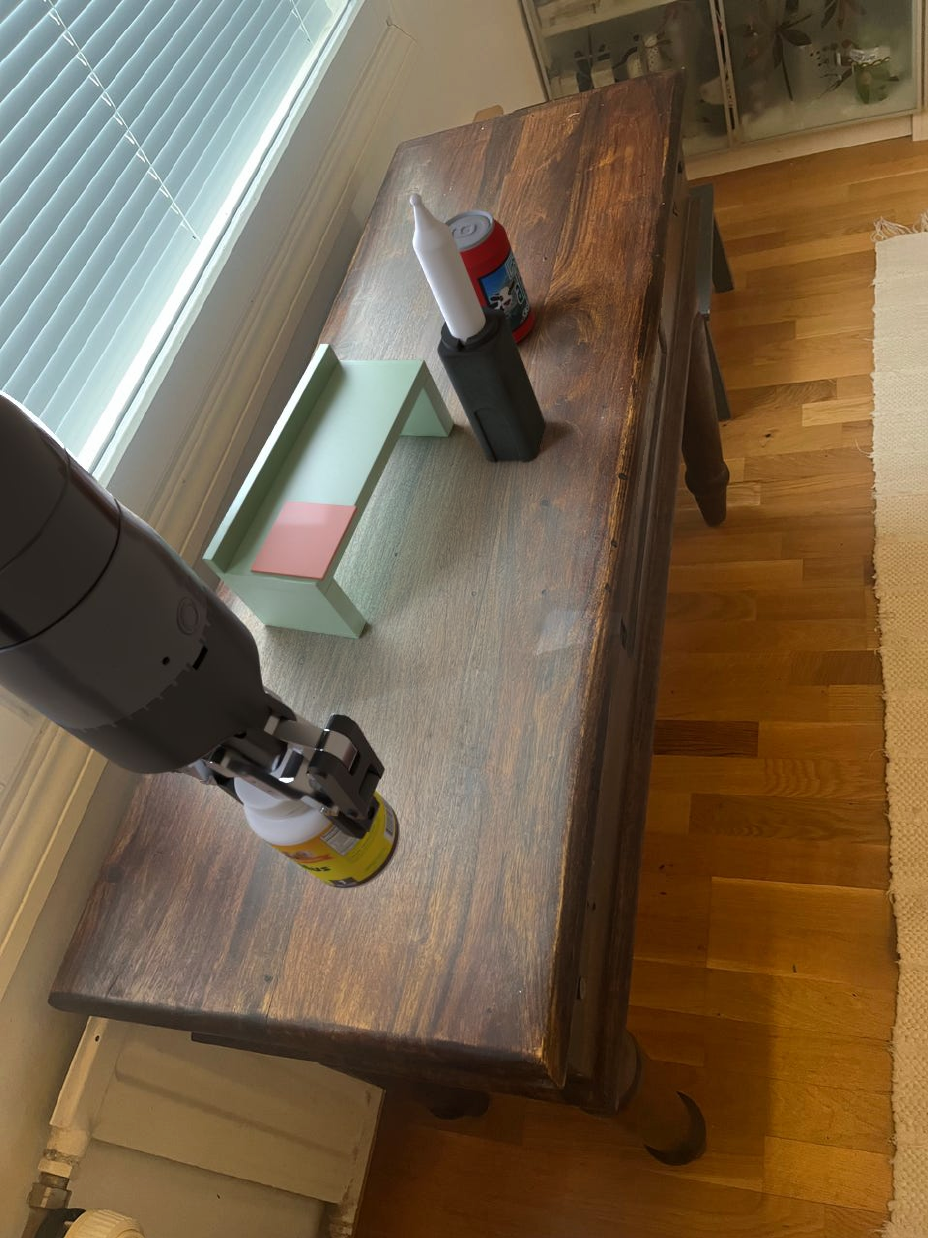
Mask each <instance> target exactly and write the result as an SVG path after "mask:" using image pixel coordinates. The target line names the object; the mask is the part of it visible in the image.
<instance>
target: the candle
mask: <svg viewBox="0 0 928 1238" xmlns="http://www.w3.org/2000/svg"><path fill="white" fill-rule="evenodd" d="M409 203H410V204H411V205H412V206H413V215H414V226H415V229H414V234H413V238H412V247H413V250H414V252H415V254H416V256H417V259H418V261H419V263H420V266H421V268H422V270H423V272H424V275H425V278H426V279H427V282H428V284H429V286H430V288H431V291H432V293H433V296H434V298H435V300H436V302H437V304H438V307H439V309H440V311H441V314H442V316H443V318H444V320H445V321H444V322H443V324H442V326H441V329H440V340H439V342H438V345H437V349H436V351H437V352H436V353H437V355H438V357H439V360H440V362H441V363H442V365H443V369H444V371H445V372H446V374H447V376H448V379H449V381H450V383H451V385H452V388H453V389H454V392H455V394H456V396H457V398H458V400H459V402H460V405H461V407H462V409H463V411H464V413H465V416H466V418H467V420H468V422H469V425H470V427H471V428H472V430H473V432H474V435H475V437H476V439H477V441H478V444H479V446H480V448H481V449H482V452H483V455H484V456H485V459H486V460H487V461H488V462H489V463H492V464H497V463H498V462H522V463H528V462H531V461H533V460H534V459H535V458H537V456H538V455H539V453H540V450H541V448H542V444H543V440H544V438H545V437H544V436H545V433H546V429H547V424H546V420H545V418H544V415H543V412H542V410H541V408H540V404H539V402H538V399H537V397H536V394H535V391H534V388H533V386H532V385H533V384H532V383H531V380H530V378H529V375H528V372H527V369H526V367H525V364H524V361H523V358H522V356H521V353H520V350H519V348H518V345H517V343H516V342H515V339H514V337H513V334H512V331H511V329H510V326H509V323H508V321H507V318H506V315H505V313H504V312H503V311H502V310H500V309H491V308H489V307H487V306H483V305H480V303H479V301H478V298H477V296H476V293H475V291H474V288H473V286H472V283H471V281H470V278H469V275H468V273H467V270H466V268H465V265H464V263H463V260H462V258H461V255H460V253H459V250H458V247H457V245H456V242H455V240H454V237H453V235H452V232H451V230H450V228H449V227H448V226H447V225H446V224H444V223H445V222H443V221H441V220H439V219H437V218H436V217H435V215H433V214H432V212H431V211H430V210H429V208H427V206H426V205H425V204H424V203H423V197H422V196H421V194H419V193H415V192H414V193H412V194H411V195H410V197H409Z"/></svg>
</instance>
